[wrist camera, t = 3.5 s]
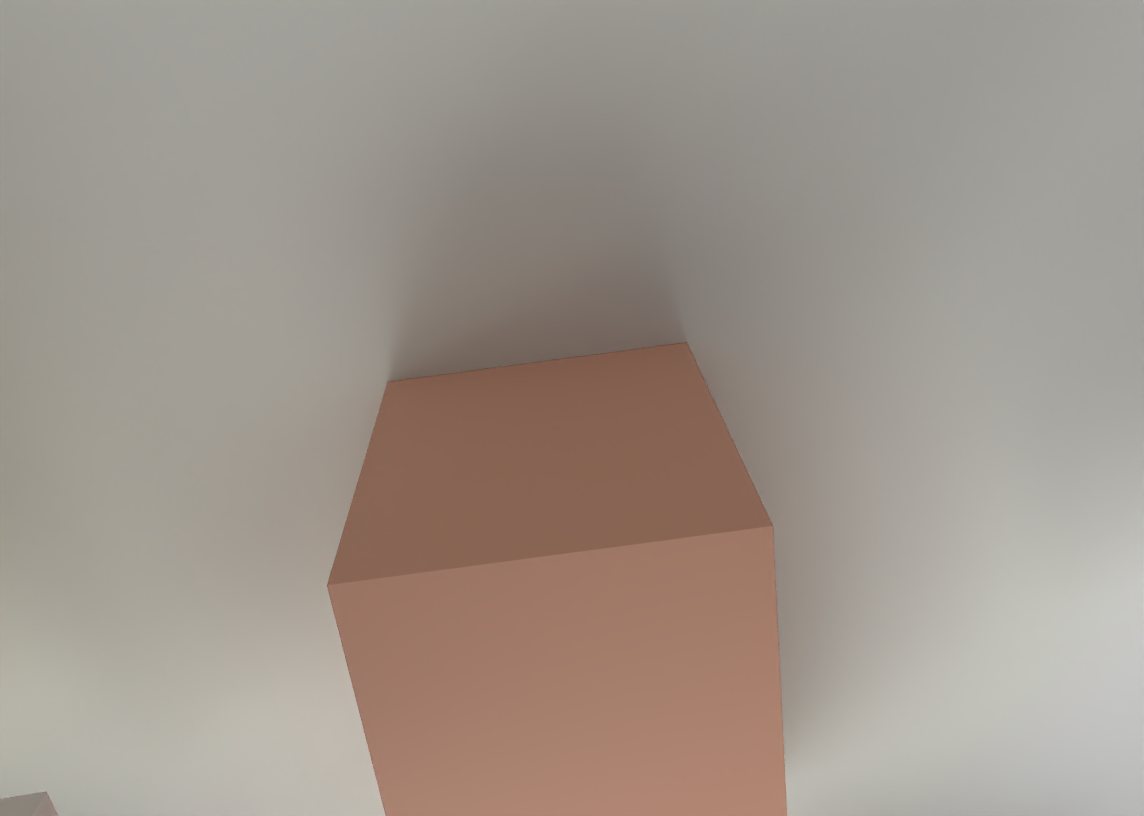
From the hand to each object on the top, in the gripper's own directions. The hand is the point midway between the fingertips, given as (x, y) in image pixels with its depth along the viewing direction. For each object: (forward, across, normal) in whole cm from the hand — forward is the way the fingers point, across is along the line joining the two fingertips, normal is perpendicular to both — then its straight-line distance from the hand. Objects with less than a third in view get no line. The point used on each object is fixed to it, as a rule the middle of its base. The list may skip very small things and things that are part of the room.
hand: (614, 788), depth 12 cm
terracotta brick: (+4, 0, 0) cm, 4 cm away
